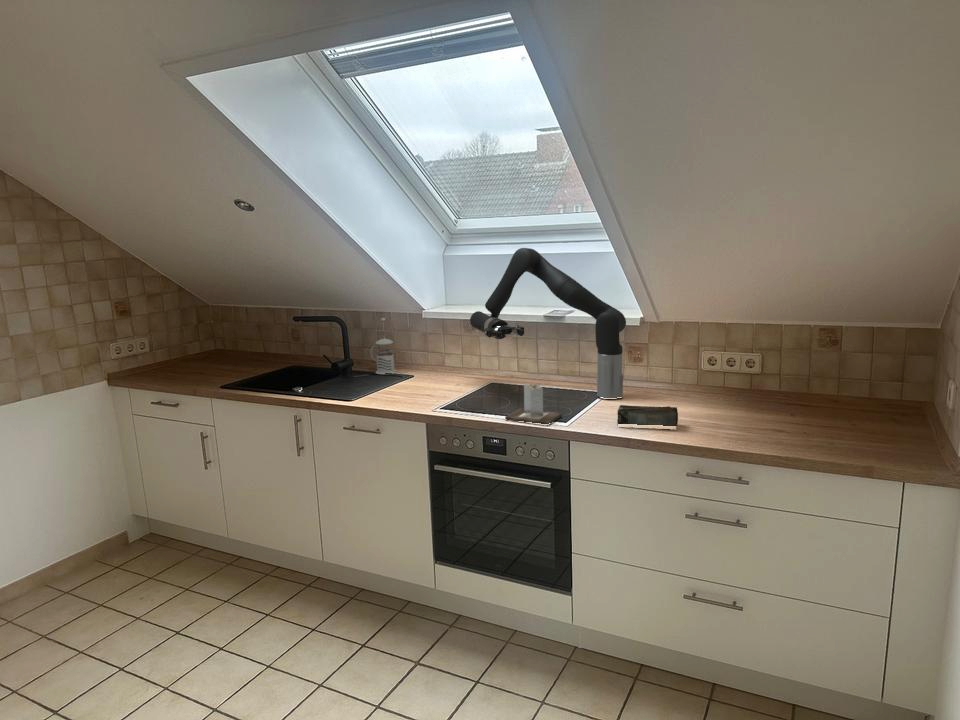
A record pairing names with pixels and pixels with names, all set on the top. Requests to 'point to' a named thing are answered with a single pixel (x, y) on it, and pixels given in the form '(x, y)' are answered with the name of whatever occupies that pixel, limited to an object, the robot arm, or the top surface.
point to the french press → (385, 367)
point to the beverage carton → (647, 415)
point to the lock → (533, 400)
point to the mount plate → (545, 419)
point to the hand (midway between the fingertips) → (511, 334)
